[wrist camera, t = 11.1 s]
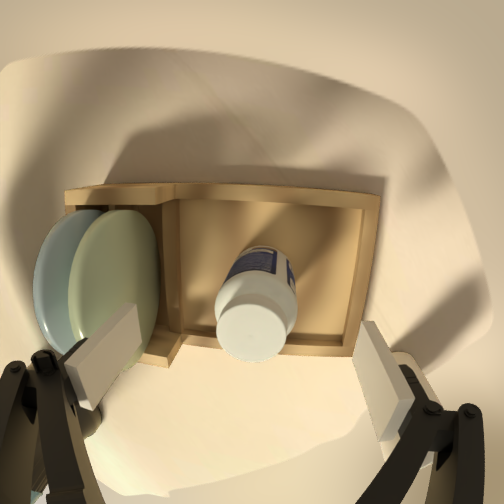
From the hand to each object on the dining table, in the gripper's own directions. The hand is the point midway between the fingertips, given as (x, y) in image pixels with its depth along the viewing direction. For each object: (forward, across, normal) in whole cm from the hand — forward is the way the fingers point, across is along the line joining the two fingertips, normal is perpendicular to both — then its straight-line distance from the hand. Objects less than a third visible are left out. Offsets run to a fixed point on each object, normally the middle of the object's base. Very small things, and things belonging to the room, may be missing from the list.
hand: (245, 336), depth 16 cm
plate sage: (+11, -9, 0) cm, 14 cm away
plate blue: (+11, -13, 0) cm, 17 cm away
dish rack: (+11, -3, 0) cm, 11 cm away
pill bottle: (+10, 0, 0) cm, 10 cm away
